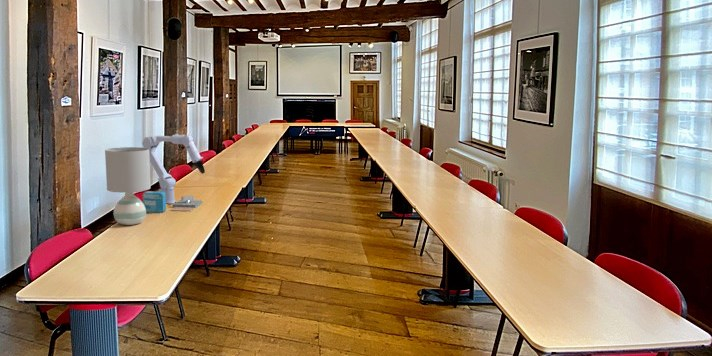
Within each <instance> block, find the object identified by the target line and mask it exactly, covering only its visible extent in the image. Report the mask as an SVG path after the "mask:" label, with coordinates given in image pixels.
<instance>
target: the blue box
mask: <svg viewBox="0 0 712 356" xmlns="http://www.w3.org/2000/svg"><path fill="white" fill-rule="evenodd" d="M142 202H143V204H144V206H145V208H146V214H147V213H150V214H152V213H153V214H162V213H164V212H165V211H166V210H167V203H166V194H165V193H164V192H158V191H152V190H151V191H149V190H146V192H144V193H142Z"/></svg>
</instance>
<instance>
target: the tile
mask: <svg viewBox="0 0 712 356" xmlns="http://www.w3.org/2000/svg"><path fill="white" fill-rule="evenodd" d="M195 209H196V208H190V207H175V208H173V207H172V209H170V212H192V211H193V210H195Z"/></svg>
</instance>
